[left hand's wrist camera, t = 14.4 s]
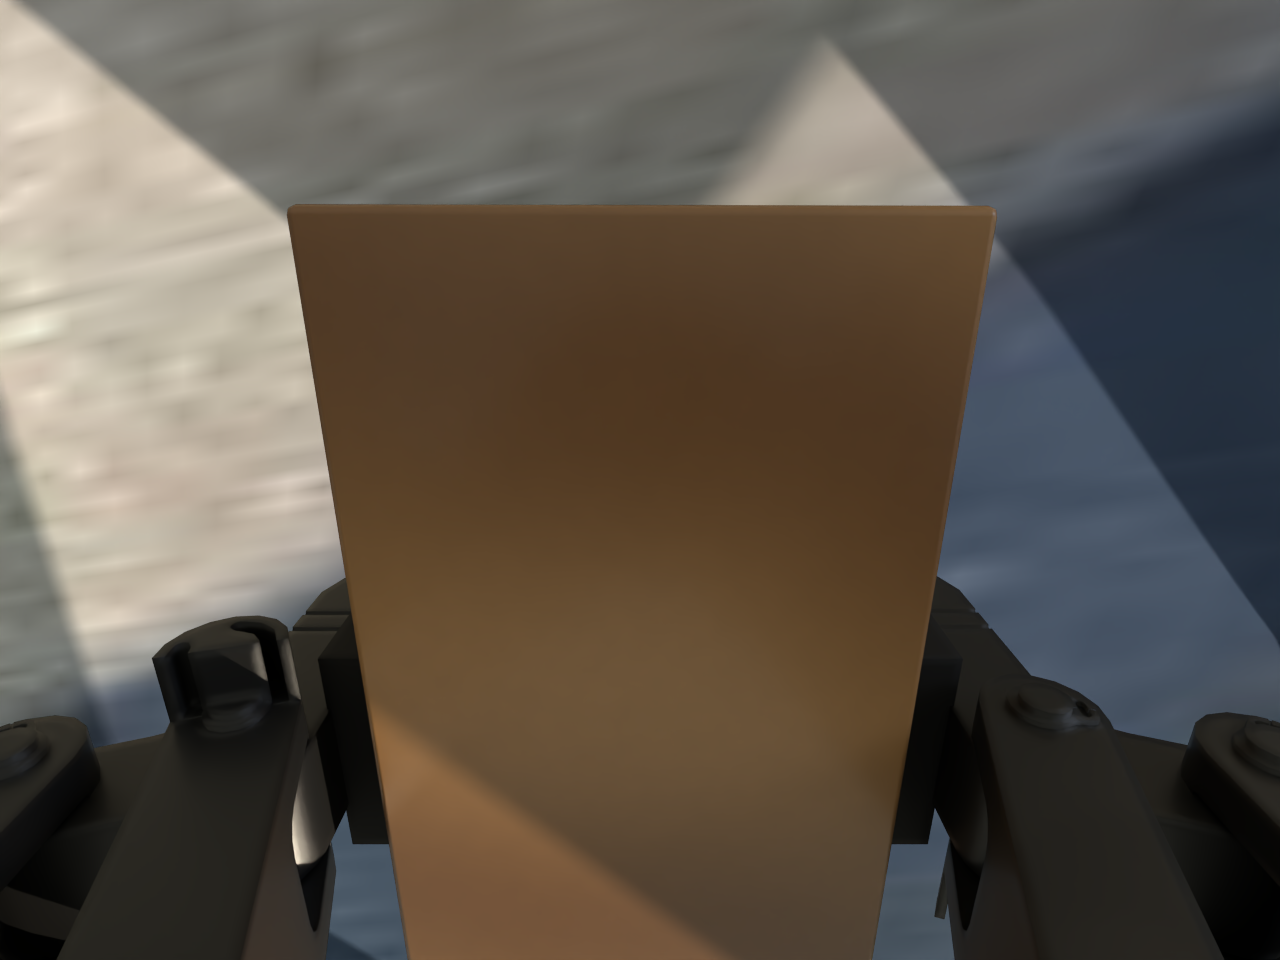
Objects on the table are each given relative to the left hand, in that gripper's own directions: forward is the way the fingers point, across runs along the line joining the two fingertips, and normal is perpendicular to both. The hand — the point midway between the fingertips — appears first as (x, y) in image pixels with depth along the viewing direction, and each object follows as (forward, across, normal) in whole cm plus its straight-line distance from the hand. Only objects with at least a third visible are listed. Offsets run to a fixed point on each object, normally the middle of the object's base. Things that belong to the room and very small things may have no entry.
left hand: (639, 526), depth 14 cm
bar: (+1, 0, -28) cm, 28 cm away
